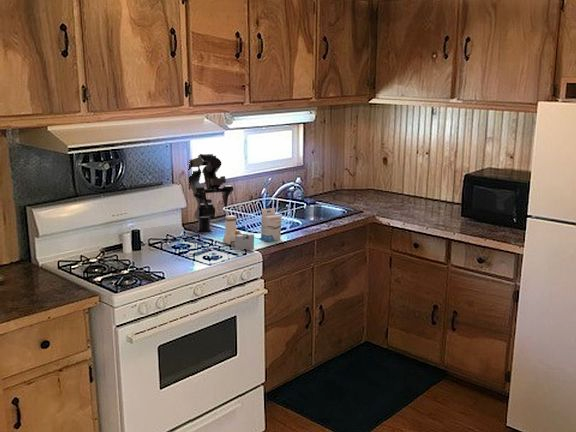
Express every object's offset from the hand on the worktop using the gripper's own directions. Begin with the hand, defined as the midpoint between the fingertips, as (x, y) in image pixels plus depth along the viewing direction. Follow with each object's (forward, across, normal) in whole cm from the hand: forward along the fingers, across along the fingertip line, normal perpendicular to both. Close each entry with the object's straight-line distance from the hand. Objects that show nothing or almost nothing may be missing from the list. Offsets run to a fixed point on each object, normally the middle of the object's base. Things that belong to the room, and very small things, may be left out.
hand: (217, 207), depth 295 cm
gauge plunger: (+20, +3, -12) cm, 23 cm away
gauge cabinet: (+26, +4, -12) cm, 28 cm away
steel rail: (+20, +3, -4) cm, 21 cm away
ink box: (+19, +22, -2) cm, 30 cm away
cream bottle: (+19, +2, -2) cm, 19 cm away
